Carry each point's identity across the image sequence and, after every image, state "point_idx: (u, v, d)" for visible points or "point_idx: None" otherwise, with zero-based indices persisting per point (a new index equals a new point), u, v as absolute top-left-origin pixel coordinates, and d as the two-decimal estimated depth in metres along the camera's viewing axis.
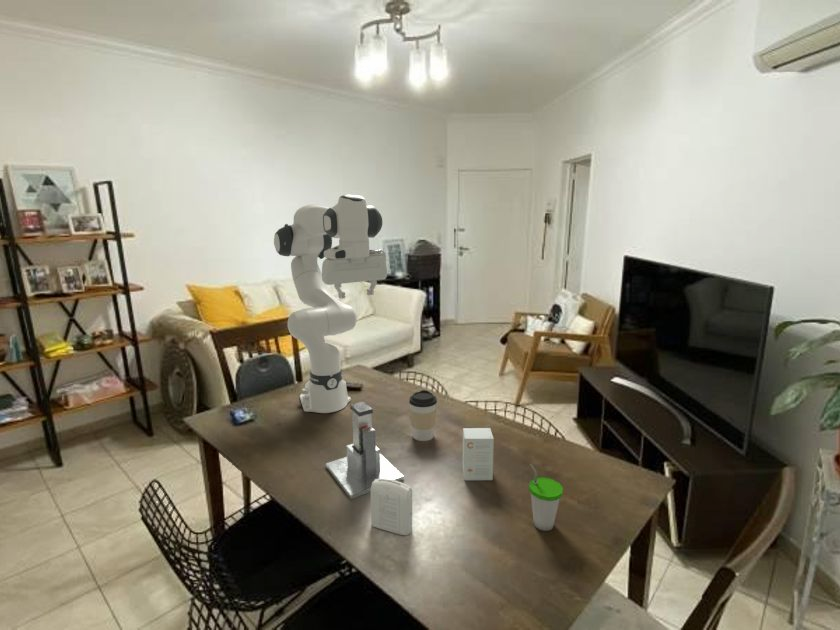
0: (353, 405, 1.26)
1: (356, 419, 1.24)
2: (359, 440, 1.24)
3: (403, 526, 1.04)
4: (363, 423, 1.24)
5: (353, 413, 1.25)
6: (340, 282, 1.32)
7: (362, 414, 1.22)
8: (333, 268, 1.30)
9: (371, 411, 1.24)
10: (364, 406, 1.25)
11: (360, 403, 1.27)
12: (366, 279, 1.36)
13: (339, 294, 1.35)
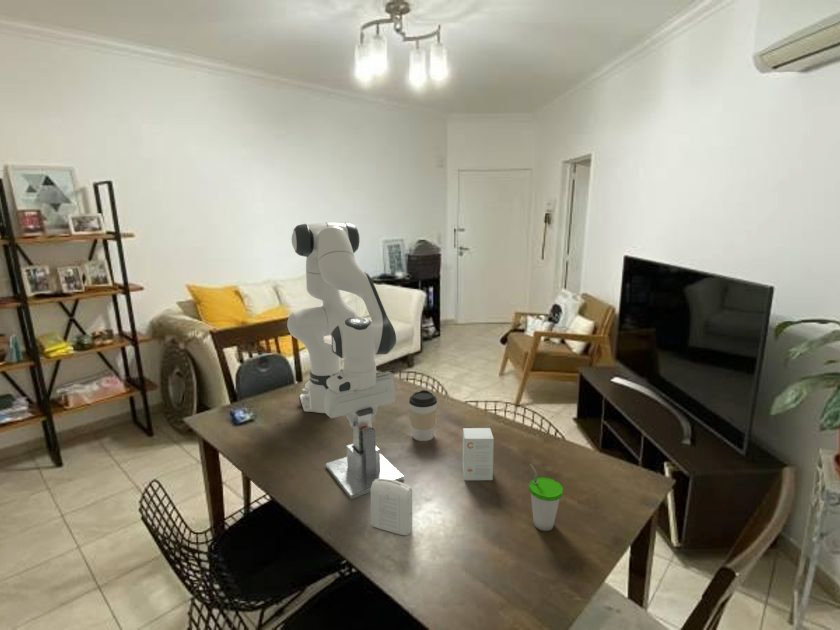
0: None
1: (356, 419, 1.24)
2: (359, 440, 1.24)
3: (403, 526, 1.04)
4: (363, 423, 1.24)
5: (353, 413, 1.25)
6: (344, 414, 1.21)
7: (362, 414, 1.22)
8: (337, 400, 1.19)
9: (371, 411, 1.24)
10: None
11: None
12: (373, 406, 1.25)
13: (350, 422, 1.24)
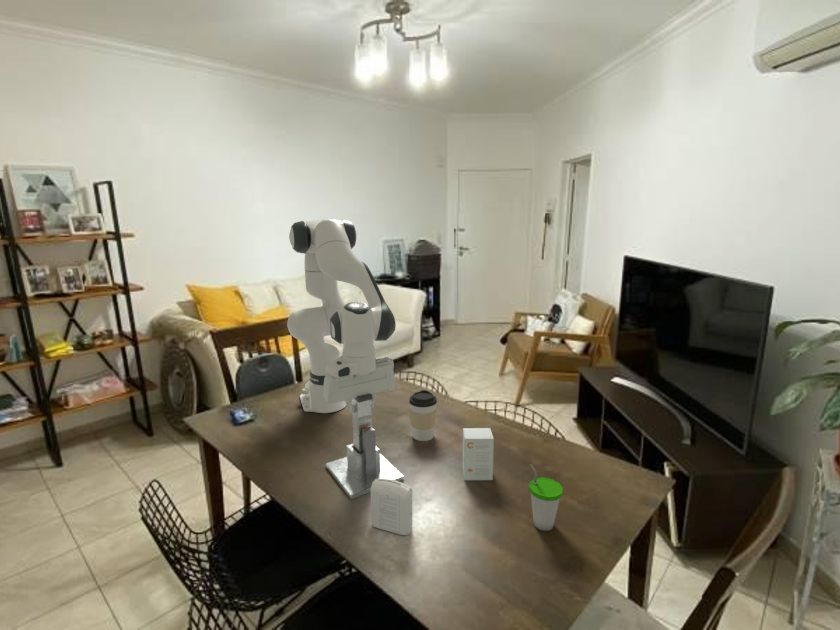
0: None
1: (356, 405, 1.23)
2: (358, 426, 1.23)
3: (403, 526, 1.04)
4: (363, 409, 1.23)
5: (352, 399, 1.24)
6: (344, 399, 1.20)
7: (361, 400, 1.21)
8: (336, 386, 1.18)
9: (371, 397, 1.23)
10: None
11: None
12: (372, 392, 1.24)
13: (349, 408, 1.23)
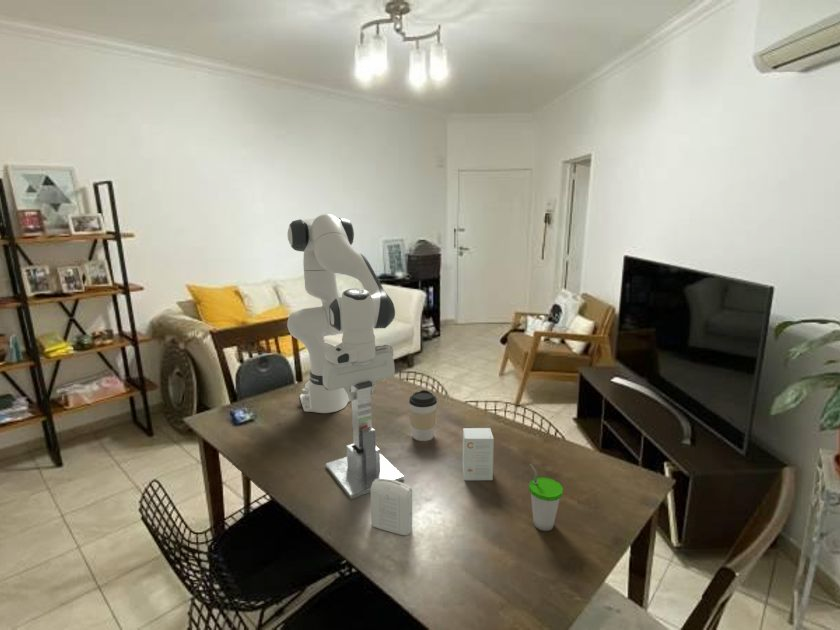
0: None
1: (355, 392, 1.22)
2: (358, 414, 1.23)
3: (403, 526, 1.04)
4: (362, 396, 1.22)
5: (352, 387, 1.23)
6: (343, 386, 1.19)
7: (361, 387, 1.20)
8: (335, 372, 1.17)
9: (370, 384, 1.22)
10: None
11: None
12: (372, 379, 1.23)
13: (349, 396, 1.22)
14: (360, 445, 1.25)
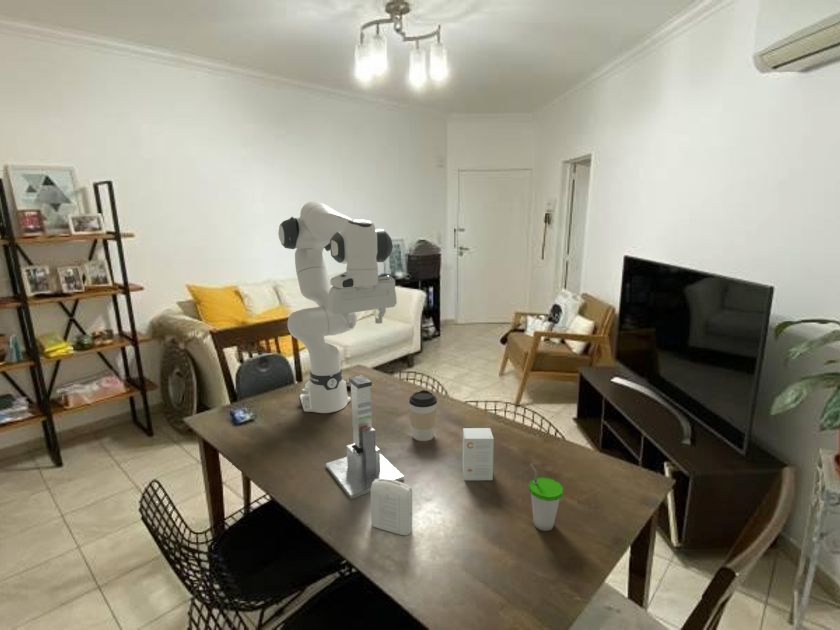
0: (352, 378, 1.24)
1: (355, 391, 1.22)
2: (358, 413, 1.23)
3: (403, 526, 1.04)
4: (362, 395, 1.22)
5: (352, 386, 1.23)
6: (347, 311, 1.25)
7: (361, 386, 1.20)
8: (340, 297, 1.23)
9: (370, 384, 1.22)
10: (363, 379, 1.23)
11: (359, 376, 1.25)
12: (375, 307, 1.29)
13: (346, 324, 1.28)
14: (360, 444, 1.25)
